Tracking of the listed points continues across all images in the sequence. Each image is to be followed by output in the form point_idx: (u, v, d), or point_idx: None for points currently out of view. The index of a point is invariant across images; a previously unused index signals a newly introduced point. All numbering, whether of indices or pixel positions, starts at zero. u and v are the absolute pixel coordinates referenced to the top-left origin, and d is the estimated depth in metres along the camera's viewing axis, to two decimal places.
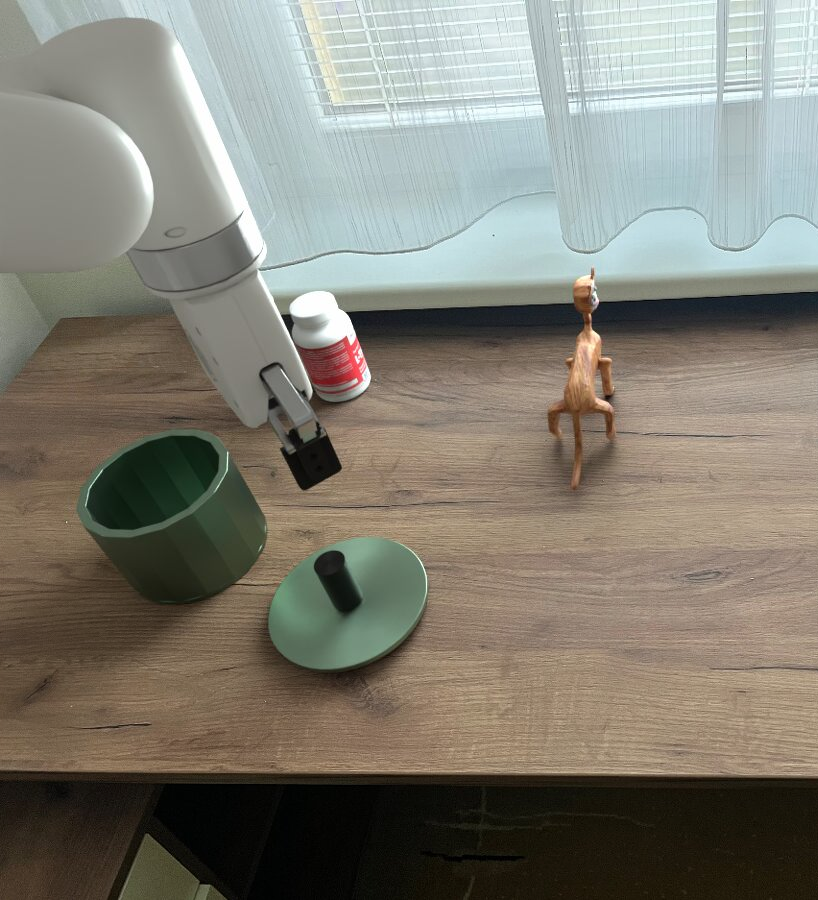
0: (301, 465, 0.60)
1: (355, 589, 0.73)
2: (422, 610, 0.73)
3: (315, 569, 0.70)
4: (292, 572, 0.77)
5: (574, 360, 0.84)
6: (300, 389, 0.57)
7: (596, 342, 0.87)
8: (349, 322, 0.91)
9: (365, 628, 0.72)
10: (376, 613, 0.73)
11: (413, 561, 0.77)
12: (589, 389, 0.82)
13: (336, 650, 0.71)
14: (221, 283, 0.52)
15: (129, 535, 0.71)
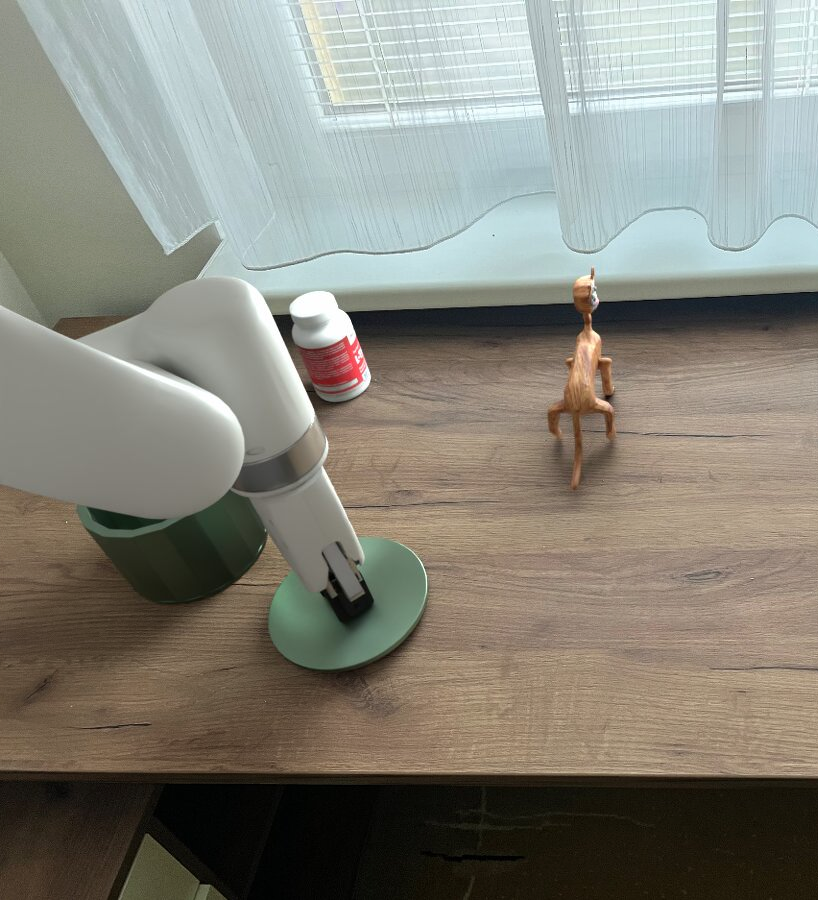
0: (341, 603, 0.71)
1: None
2: (422, 610, 0.73)
3: None
4: (292, 572, 0.77)
5: (574, 360, 0.84)
6: None
7: (596, 342, 0.87)
8: (349, 322, 0.91)
9: (365, 628, 0.72)
10: (376, 613, 0.73)
11: (413, 561, 0.77)
12: (589, 389, 0.82)
13: (336, 650, 0.71)
14: (292, 484, 0.60)
15: (129, 535, 0.71)
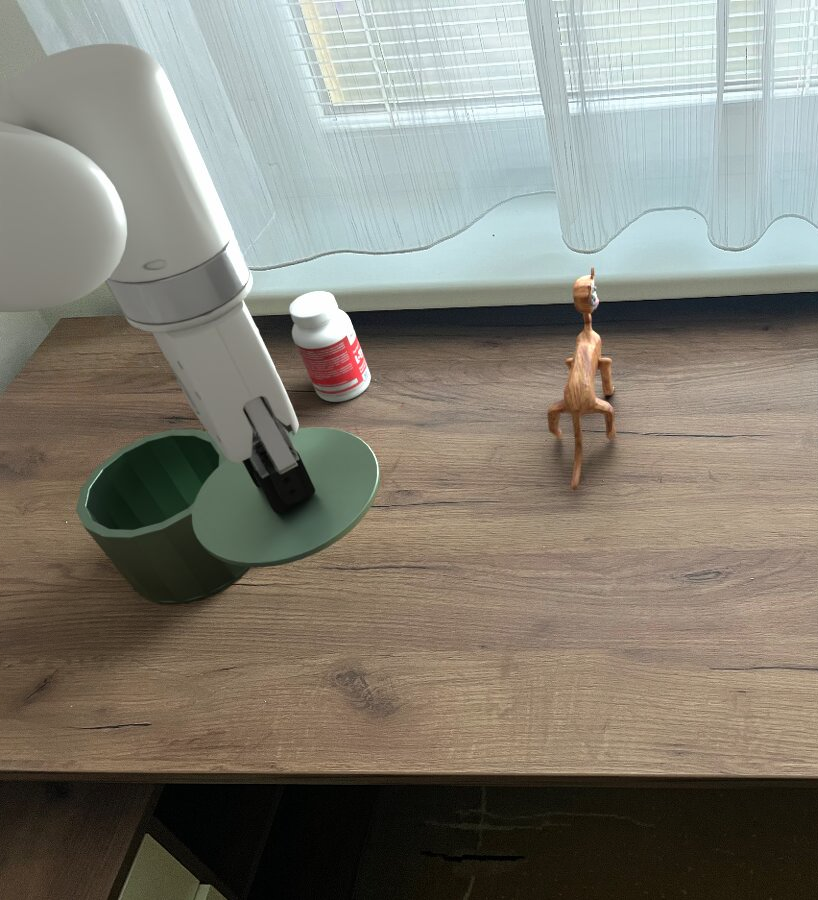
0: (274, 488, 0.61)
1: None
2: (371, 501, 0.63)
3: None
4: (224, 463, 0.67)
5: (574, 360, 0.84)
6: None
7: (596, 342, 0.87)
8: (349, 322, 0.91)
9: (304, 519, 0.62)
10: (318, 503, 0.63)
11: (364, 450, 0.67)
12: (589, 389, 0.82)
13: (268, 542, 0.61)
14: (204, 316, 0.50)
15: (129, 535, 0.71)
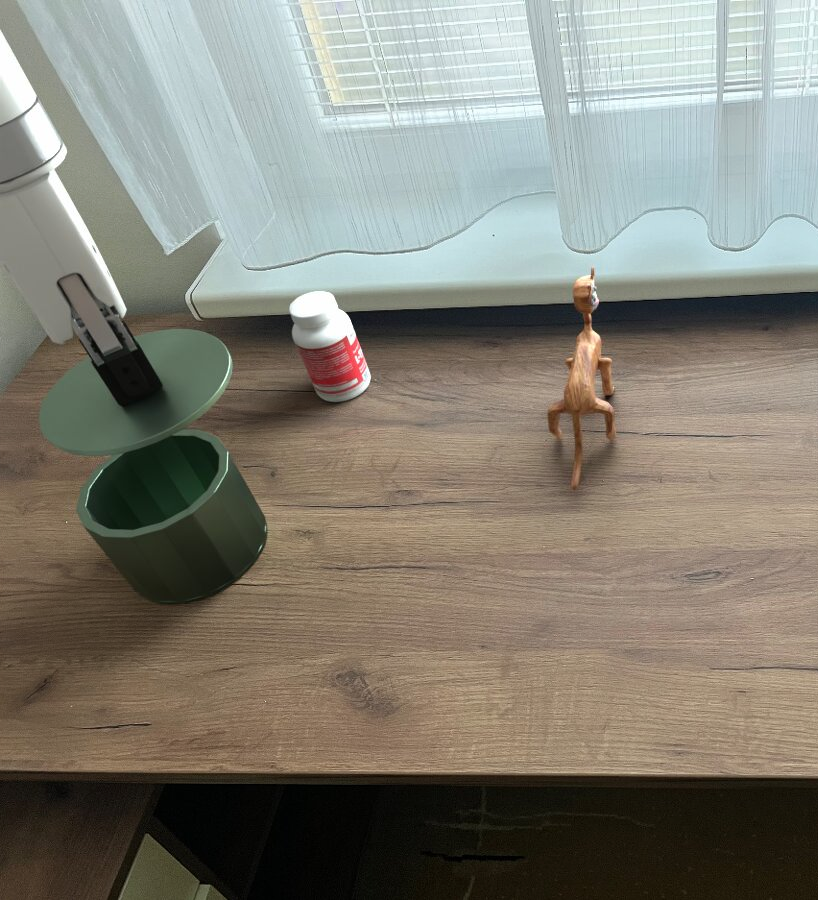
0: (116, 380, 0.61)
1: None
2: (217, 395, 0.63)
3: None
4: (81, 362, 0.67)
5: (574, 360, 0.84)
6: None
7: (596, 342, 0.87)
8: (349, 322, 0.91)
9: (147, 411, 0.62)
10: (164, 397, 0.63)
11: (219, 349, 0.66)
12: (589, 389, 0.82)
13: (108, 432, 0.60)
14: (5, 184, 0.50)
15: (129, 535, 0.71)
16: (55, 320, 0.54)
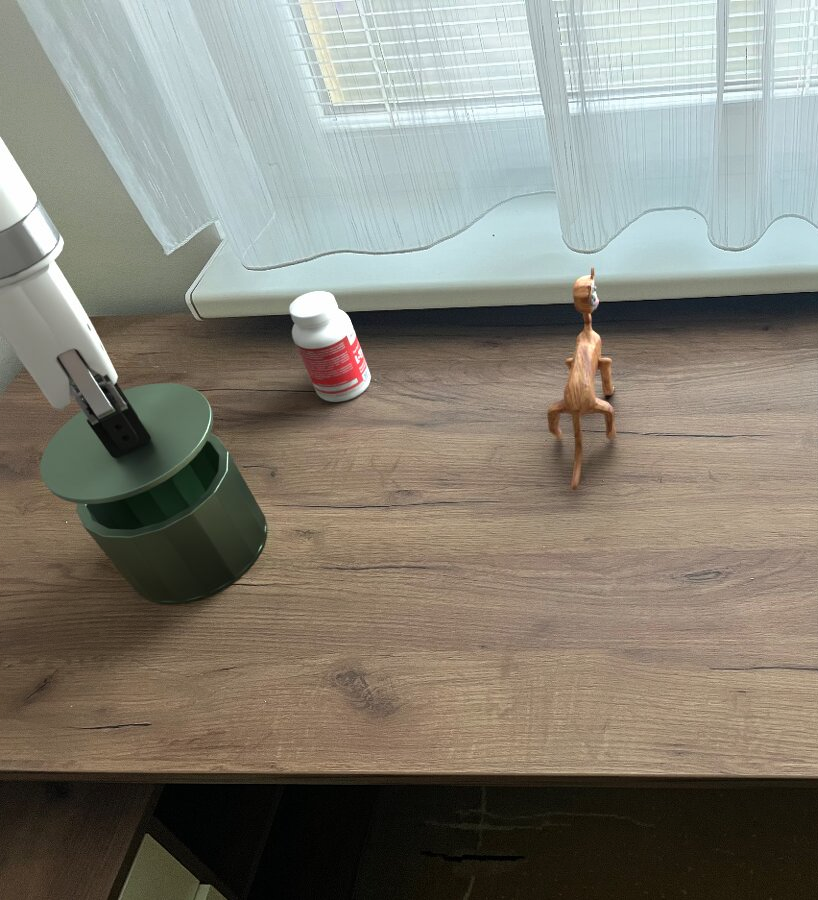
0: (109, 435, 0.69)
1: None
2: (199, 446, 0.70)
3: None
4: (77, 415, 0.74)
5: (574, 360, 0.84)
6: None
7: (596, 342, 0.87)
8: (349, 322, 0.91)
9: (137, 462, 0.69)
10: (152, 449, 0.70)
11: (201, 402, 0.74)
12: (589, 389, 0.82)
13: (103, 482, 0.68)
14: (11, 277, 0.57)
15: (129, 535, 0.71)
16: (55, 390, 0.61)
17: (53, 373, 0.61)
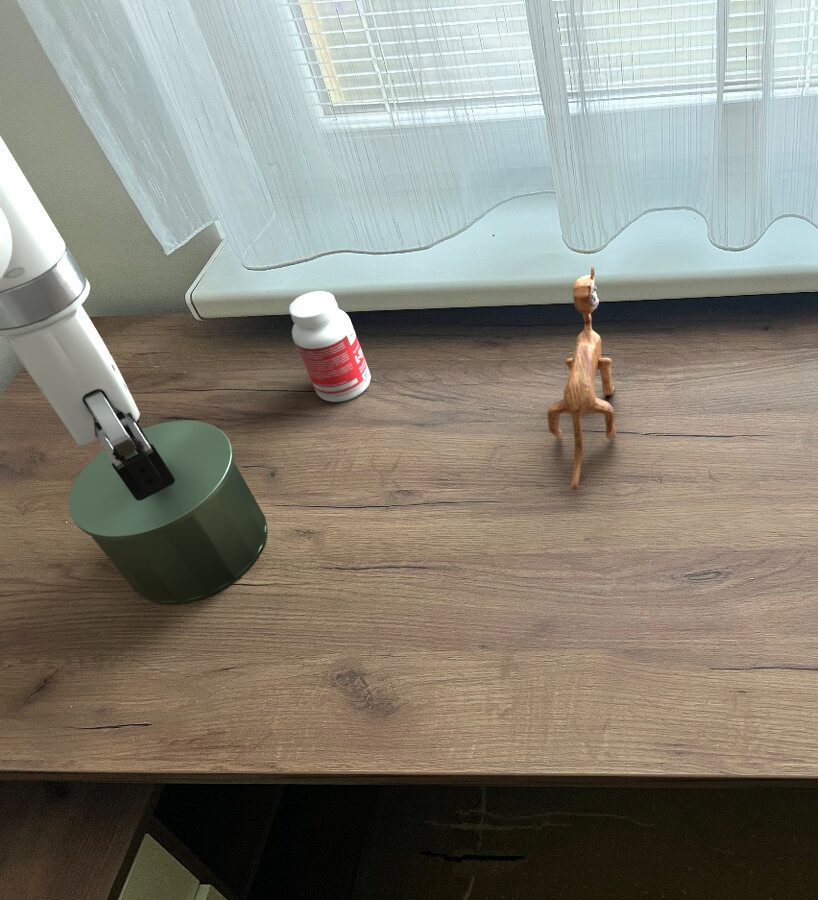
0: (133, 478, 0.68)
1: None
2: (221, 483, 0.73)
3: None
4: (102, 452, 0.77)
5: (574, 360, 0.84)
6: (125, 412, 0.65)
7: (596, 342, 0.87)
8: (349, 322, 0.91)
9: (161, 499, 0.72)
10: (175, 486, 0.73)
11: (222, 440, 0.77)
12: (589, 389, 0.82)
13: (129, 519, 0.71)
14: (40, 322, 0.60)
15: None
16: (80, 428, 0.64)
17: (79, 412, 0.63)
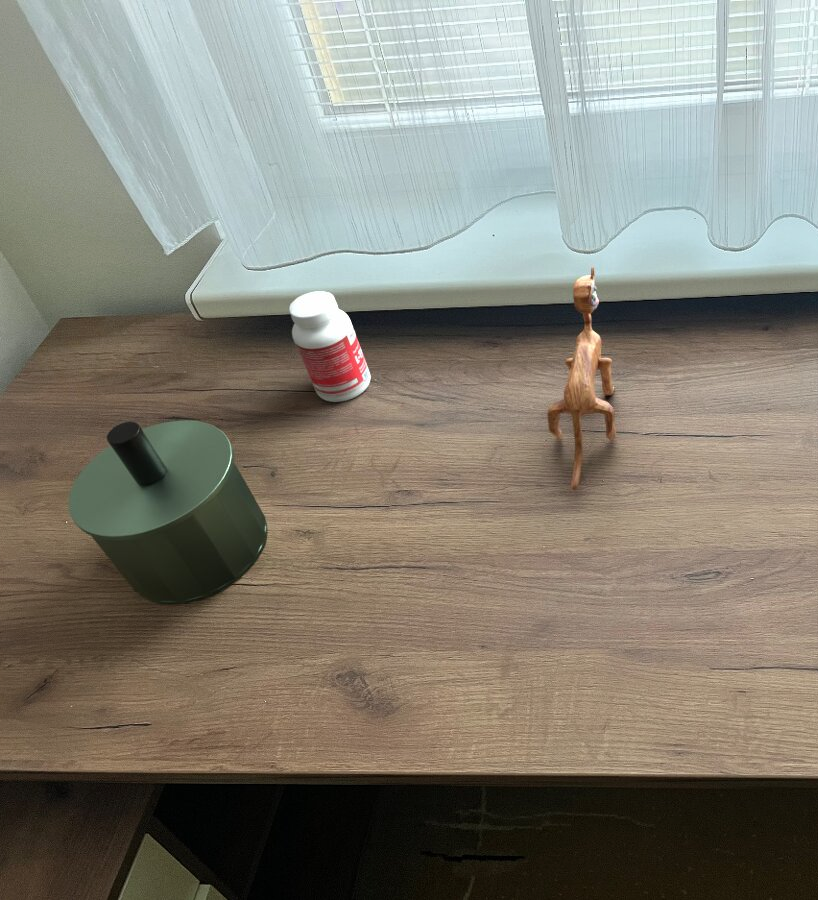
0: None
1: (154, 462, 0.73)
2: (221, 483, 0.73)
3: (107, 438, 0.71)
4: (102, 452, 0.77)
5: (574, 360, 0.84)
6: None
7: (596, 342, 0.87)
8: (349, 322, 0.91)
9: (161, 499, 0.72)
10: (175, 486, 0.73)
11: (222, 440, 0.77)
12: (589, 389, 0.82)
13: (129, 519, 0.71)
14: None
15: None
16: None
17: None
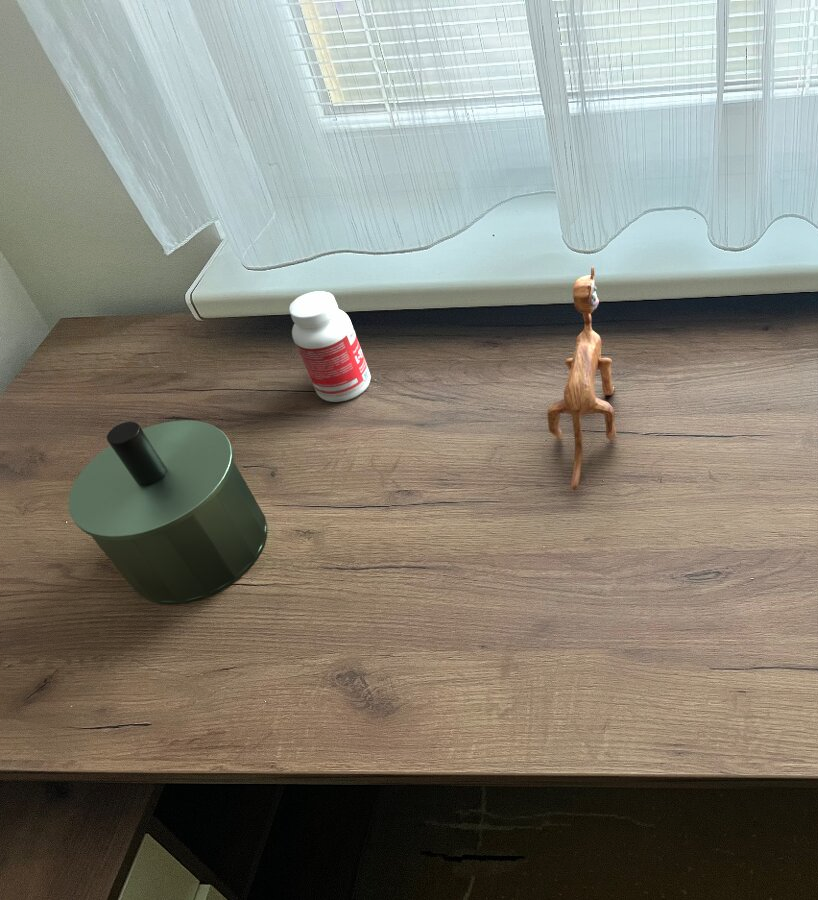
0: None
1: (154, 462, 0.73)
2: (221, 483, 0.73)
3: (107, 438, 0.71)
4: (102, 452, 0.77)
5: (574, 360, 0.84)
6: None
7: (596, 342, 0.87)
8: (349, 322, 0.91)
9: (161, 499, 0.72)
10: (175, 486, 0.73)
11: (222, 440, 0.77)
12: (589, 389, 0.82)
13: (129, 519, 0.71)
14: None
15: None
16: None
17: None
